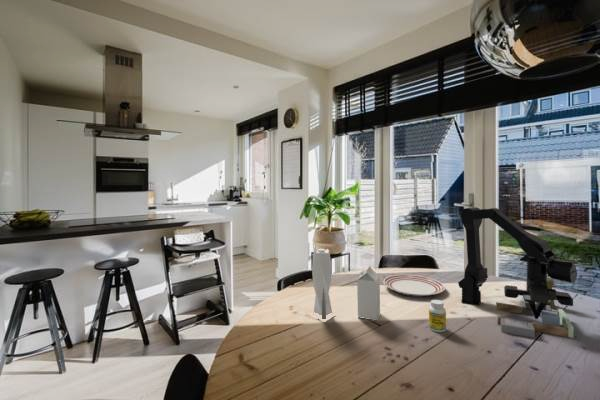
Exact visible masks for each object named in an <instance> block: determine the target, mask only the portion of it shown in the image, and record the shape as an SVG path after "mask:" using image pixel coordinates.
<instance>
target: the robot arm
mask: <svg viewBox="0 0 600 400" xmlns="http://www.w3.org/2000/svg"><path fill="white" fill-rule="evenodd" d="M459 216H460V220H461V223H462V225H463V227H464V229H465V236H466V237H465V239H466V254H467V256H466V257H467V265H466V267H465V270H464V274H463V275H464V276H463V278H462V279H461V280H459V281H458V282H457V283H458V284H457V285H458V288H460V289H461V300H460V301H461V303H464V304H468V305H469V304H470V305H476V306H480V303H481V302H482V296H481V295H482V292H481V290H480V287H482V286H483V284H485V283H486V282H487V281H488V280H487V279H488V278H489V274H488V268H487V267H484V266H483V265H482V257H481V242H480V228H481V225H482V222H483V219H484V220H485V219H489V220H490V221H492V222H493V224H494V223H495V225H497V226H498V227H499V228H501V230H503V231H504V232H505V233H507V234H508V235H509V236H511V238H513V239H514V240H515V241H516V242H517V244H518V245H519V248H520V249H521V250H522V251H523V252H524V253H525V254H524V255H523V256H522V257H520V258H519V260H520V261H521V262H525V263H526V290H524V289H518V286H515V285H505V286H504V287H503V288H504V289H503V290H504V297H505V298H506V297H507V298H511V299H517V298H518V297H519V296H522V298H523V301H524V302H528V303H529V305H530V307H531V309H532V312H533V314H534V315H533V316H534V317H533V318H534V319H535V320H538V319H539V317H541V316H540V314H541V311H542V310H543V308H544V307H545V306H546V305H551V303H550V300H552V301H553V300H554V301H557V302H558V303H559V304H560V305H562V306H568V307H573V306H574V299H573V297H572V296H571V294H570V293H569V292H563V291H557V290H556V289H555V288H552V289H548V287H547V278H550V279H552V280H557V281H561V282H566V283H572V284H575V282H577V281H576V280H577V277H578V270H577V266H576V265H575V261H572V260H564V259H563V260H562V259H561V260H560V259H559V258H558V256H557V255H556V254H555V253H554V252H553V251H552V249H551V245H550V244H549V242H548V241H547V240H545V239H543V238H541V237H539V236H538V235H535V234H532V233H531V232H529V231H526V229H524V228H523V227H521V226H520V225H519V224H517V223H516V222H515V221H513V220H512V219H511V218H510V217H509V216H507V215H506V214H504V213H503V212H502V211H501V210H500V209H499V208H498V207H492V208H479V207H476V206H474V207H464V208H463V209H462V210H461V211H460V214H459ZM536 302H537V307H535V303H536Z"/></svg>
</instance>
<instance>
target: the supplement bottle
mask: <svg viewBox="0 0 600 400" xmlns="http://www.w3.org/2000/svg"><path fill="white" fill-rule="evenodd" d="M428 323H429V325H428V327H429V329H430V330H431V331H433V332H436V333H444V332H446V330H447V310H446V308H444V302H443V300H439V299H432V300H430V306H429V308H428Z"/></svg>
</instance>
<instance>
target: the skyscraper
mask: <svg viewBox="0 0 600 400" xmlns="http://www.w3.org/2000/svg"><path fill="white" fill-rule="evenodd" d="M312 255H313V256H312V267H311V268H312V269H311V270H312V271H311V273H312V283H313V289H314V292H315V293H314V294H315V300H314V308H313V309H314V310H313V313H314V312H315V313H318V314H319V315H322V319H326V315H328V314H330V313H332V314H333V309H332V304H331V298H330V289H331V284H332V274H333V272H332V268H333V267H332V260H331V254H330V250H329V248H326V249H325V248H318V249H316V245H315V244H313V254H312Z"/></svg>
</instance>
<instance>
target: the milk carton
mask: <svg viewBox="0 0 600 400" xmlns="http://www.w3.org/2000/svg"><path fill="white" fill-rule="evenodd" d="M359 275H360V276H359V277H358V278H357V281H356V283H357V285H356V286H357V288H356V289H357V290H356V291H357V317H358V316H359V317H364V318H369V319H373V320H372V321H374V320H377V321H378V319H379V317H380V315H381V297H380V296H381V287H380V284H381V283H380V282H381V281H380V280H381V279H380V278H381V277H380V275H379V274H378V273H377V272H376V271H375V270H373V268H372V267H371V265H368V267H367V268H366V269H362V270H361V271H360V272H359ZM379 314H380V315H379ZM378 316H379V317H378Z"/></svg>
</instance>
